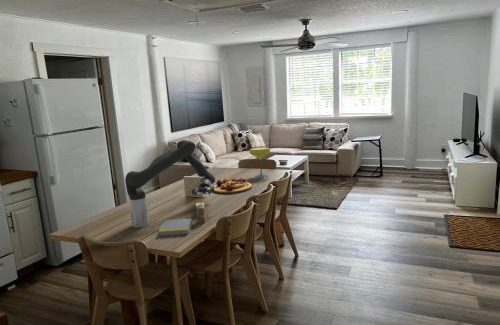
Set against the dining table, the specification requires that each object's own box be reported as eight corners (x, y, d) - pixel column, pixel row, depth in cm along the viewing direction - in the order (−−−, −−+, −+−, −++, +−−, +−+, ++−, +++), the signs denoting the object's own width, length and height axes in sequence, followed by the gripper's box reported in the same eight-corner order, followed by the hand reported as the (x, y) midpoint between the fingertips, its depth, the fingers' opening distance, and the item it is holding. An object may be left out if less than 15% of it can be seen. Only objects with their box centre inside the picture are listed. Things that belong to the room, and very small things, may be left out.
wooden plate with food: (243, 195, 280) (243, 184, 278) (204, 193, 290) (204, 183, 289) (257, 184, 309) (256, 174, 308) (221, 183, 320) (220, 174, 318)
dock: (159, 236, 209) (158, 229, 208) (165, 226, 224) (164, 220, 223) (188, 234, 209) (187, 227, 208) (192, 224, 223) (191, 218, 223)
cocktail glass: (247, 177, 333) (245, 149, 328) (258, 173, 347) (256, 146, 342) (264, 179, 322) (262, 150, 318) (275, 174, 337) (273, 146, 332)
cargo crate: (197, 222, 226) (195, 205, 224) (198, 220, 231) (196, 203, 228) (205, 222, 226) (203, 204, 224) (206, 219, 230) (204, 202, 228)
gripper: (193, 182, 252) (190, 188, 236) (215, 180, 252) (212, 186, 236) (195, 193, 253) (191, 200, 237) (216, 191, 253) (214, 198, 237)
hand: (202, 193), depth 237 cm, fingers open, 8 cm apart
